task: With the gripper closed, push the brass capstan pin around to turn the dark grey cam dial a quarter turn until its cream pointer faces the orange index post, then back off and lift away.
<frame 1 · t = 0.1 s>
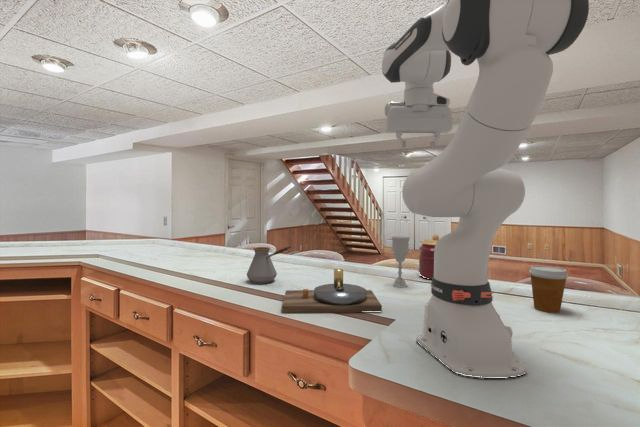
hand: (417, 147, 103), 48 cm above the worktop, fingers open, 8 cm apart
disposable coffee cup: (546, 309, 98), on the worktop
canister: (434, 277, 137), on the worktop
coffee pot: (270, 283, 126), on the worktop
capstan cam: (340, 285, 102), point 6 cm above the worktop, hinge at 0.0°
chalice: (399, 286, 124), on the worktop
walnut stand: (330, 303, 102), on the worktop
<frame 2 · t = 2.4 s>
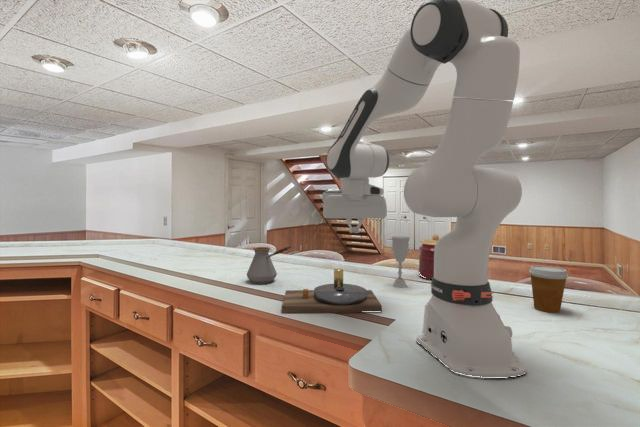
hand: (354, 232, 107), 21 cm above the worktop, fingers closed
nothing on the worktop moved.
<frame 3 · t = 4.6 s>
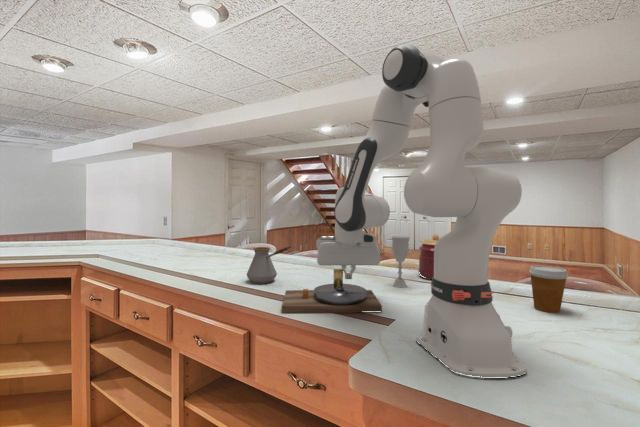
hand: (348, 278, 108), 6 cm above the worktop, fingers closed
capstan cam: (340, 285, 102), point 6 cm above the worktop, hinge at 1.0°, touching gripper
everything else where it was.
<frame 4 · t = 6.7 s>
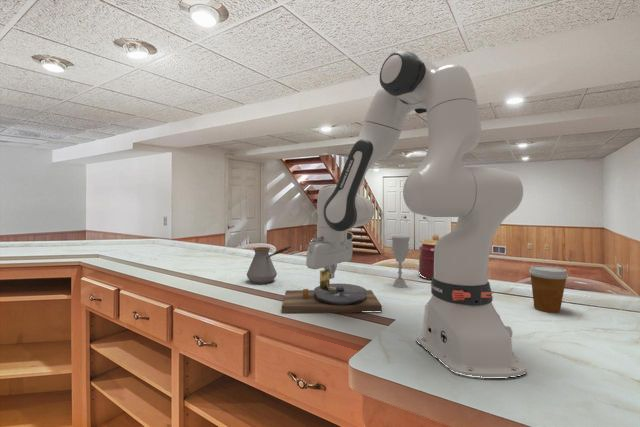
hand: (330, 278, 108), 6 cm above the worktop, fingers closed
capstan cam: (340, 285, 102), point 6 cm above the worktop, hinge at 49.2°, touching gripper
everything else where it was.
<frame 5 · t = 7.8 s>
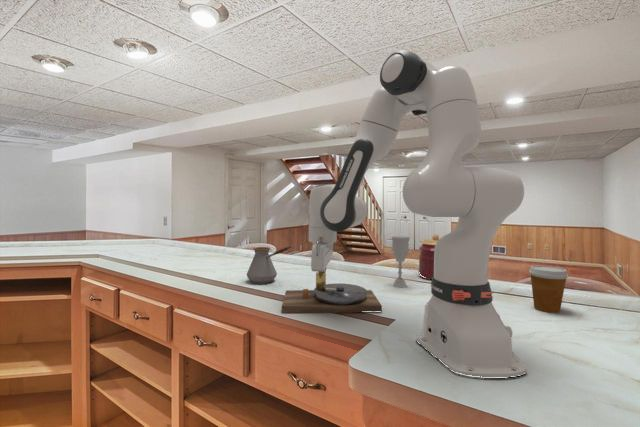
hand: (322, 279, 106), 6 cm above the worktop, fingers closed
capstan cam: (340, 285, 102), point 6 cm above the worktop, hinge at 77.3°, touching gripper
everything else where it was.
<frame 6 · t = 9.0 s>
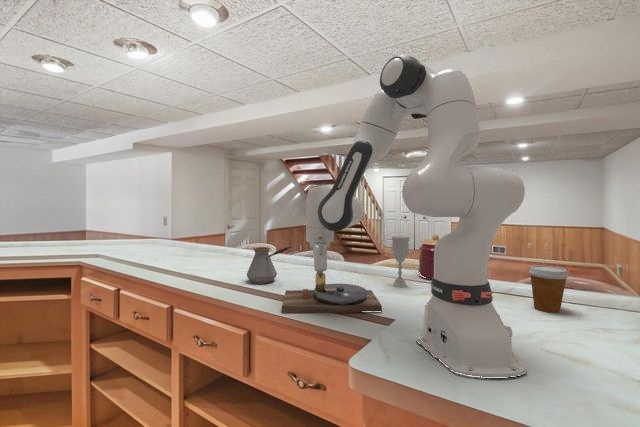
hand: (319, 279, 107), 6 cm above the worktop, fingers closed
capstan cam: (340, 285, 102), point 6 cm above the worktop, hinge at 91.3°
everything else where it was.
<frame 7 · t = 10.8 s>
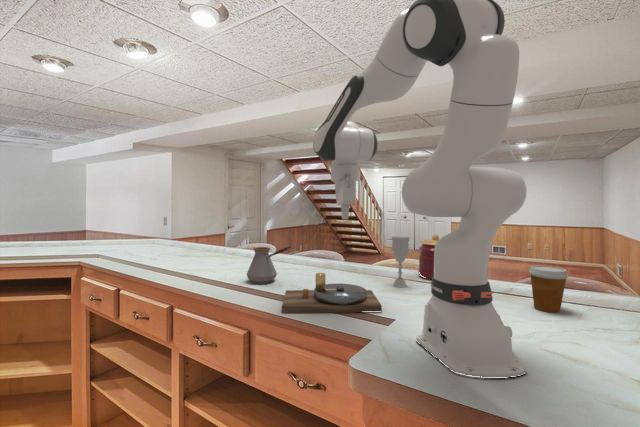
hand: (345, 219, 106), 26 cm above the worktop, fingers closed
nothing on the worktop moved.
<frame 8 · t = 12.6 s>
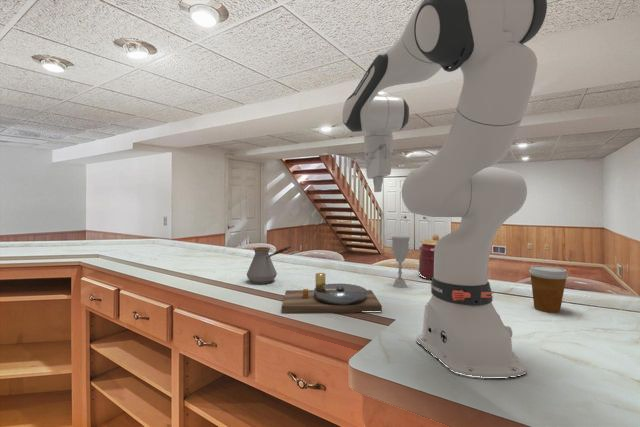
hand: (377, 192, 105), 34 cm above the worktop, fingers closed
nothing on the worktop moved.
at the end: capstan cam at +91° (first picture: +0°); the gripper is holding nothing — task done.
